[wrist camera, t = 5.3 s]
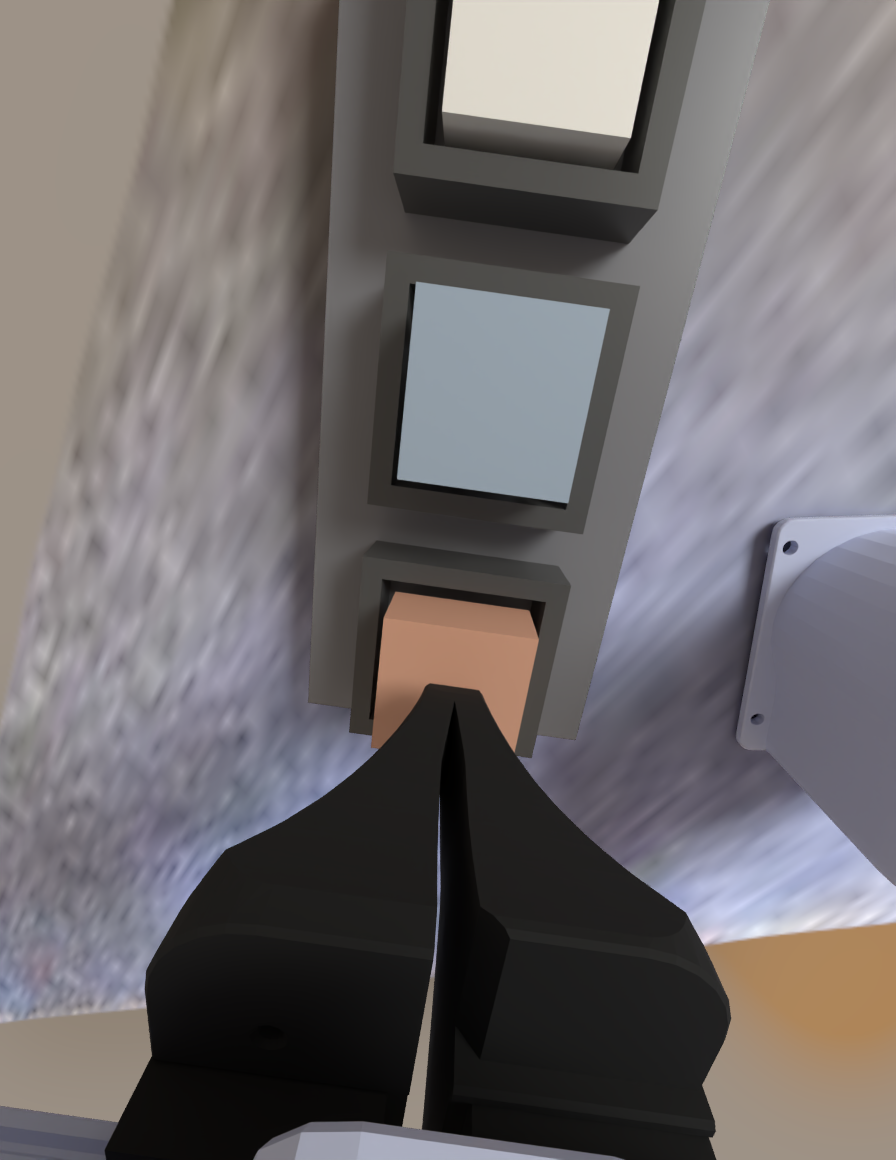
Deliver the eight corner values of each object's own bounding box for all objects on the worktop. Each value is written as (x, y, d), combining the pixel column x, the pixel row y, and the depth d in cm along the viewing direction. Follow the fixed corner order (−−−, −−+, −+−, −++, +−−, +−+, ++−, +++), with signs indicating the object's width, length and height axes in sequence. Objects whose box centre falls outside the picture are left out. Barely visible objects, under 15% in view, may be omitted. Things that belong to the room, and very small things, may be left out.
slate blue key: (553, 491, 13) (568, 503, 11) (408, 471, 13) (396, 479, 11) (586, 329, 11) (609, 308, 9) (425, 306, 11) (416, 281, 9)
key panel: (564, 709, 19) (588, 778, 15) (324, 675, 19) (288, 736, 15) (742, -6, 12) (866, -204, 8) (365, -59, 12) (317, -281, 8)
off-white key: (604, 185, 12) (631, 137, 10) (446, 163, 12) (442, 111, 10) (646, -30, 10) (687, -134, 8) (469, -55, 10) (470, -165, 8)
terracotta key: (506, 724, 15) (511, 767, 13) (383, 707, 15) (370, 747, 13) (529, 610, 14) (538, 639, 12) (395, 591, 14) (383, 618, 12)
